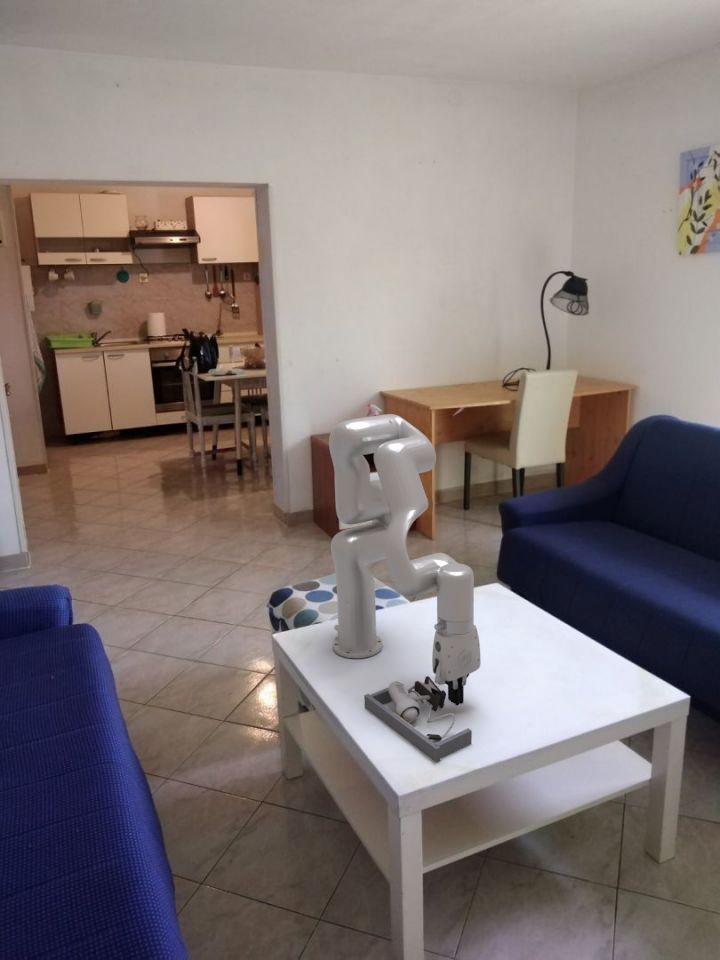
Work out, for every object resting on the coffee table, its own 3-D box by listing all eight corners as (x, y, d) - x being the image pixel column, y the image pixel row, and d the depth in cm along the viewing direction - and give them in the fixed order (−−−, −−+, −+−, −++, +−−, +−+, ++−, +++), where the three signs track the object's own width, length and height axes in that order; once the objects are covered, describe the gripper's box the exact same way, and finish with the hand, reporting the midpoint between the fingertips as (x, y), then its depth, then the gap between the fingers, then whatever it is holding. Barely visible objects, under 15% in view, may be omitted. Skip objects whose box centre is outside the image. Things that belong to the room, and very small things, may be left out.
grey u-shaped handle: (364, 707, 159) (364, 695, 158) (399, 693, 164) (399, 681, 163) (436, 763, 139) (436, 749, 139) (473, 745, 144) (473, 731, 144)
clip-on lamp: (465, 747, 149) (428, 687, 164) (471, 723, 146) (434, 665, 161) (412, 756, 145) (380, 694, 160) (417, 732, 142) (384, 671, 157)
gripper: (439, 639, 145) (440, 721, 149) (494, 619, 153) (493, 697, 158) (416, 626, 151) (417, 706, 155) (469, 607, 159) (469, 683, 164)
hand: (455, 701), depth 156 cm, fingers closed
